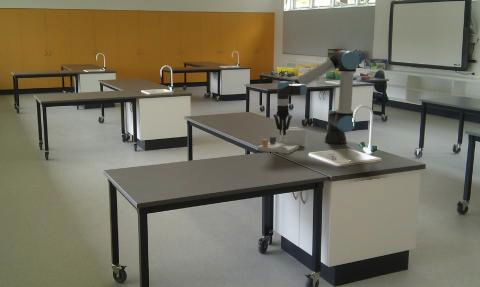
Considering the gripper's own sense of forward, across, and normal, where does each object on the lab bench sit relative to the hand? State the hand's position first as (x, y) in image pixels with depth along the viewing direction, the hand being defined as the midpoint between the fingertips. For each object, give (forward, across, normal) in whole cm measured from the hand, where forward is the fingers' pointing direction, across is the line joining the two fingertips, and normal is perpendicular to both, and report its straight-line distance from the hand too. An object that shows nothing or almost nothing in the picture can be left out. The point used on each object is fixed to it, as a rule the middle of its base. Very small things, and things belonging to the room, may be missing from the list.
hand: (282, 139), depth 356 cm
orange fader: (+3, -7, -11) cm, 14 cm away
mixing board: (+6, 0, -6) cm, 8 cm away
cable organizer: (+6, +2, +12) cm, 14 cm away
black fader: (+3, -7, 0) cm, 8 cm away
